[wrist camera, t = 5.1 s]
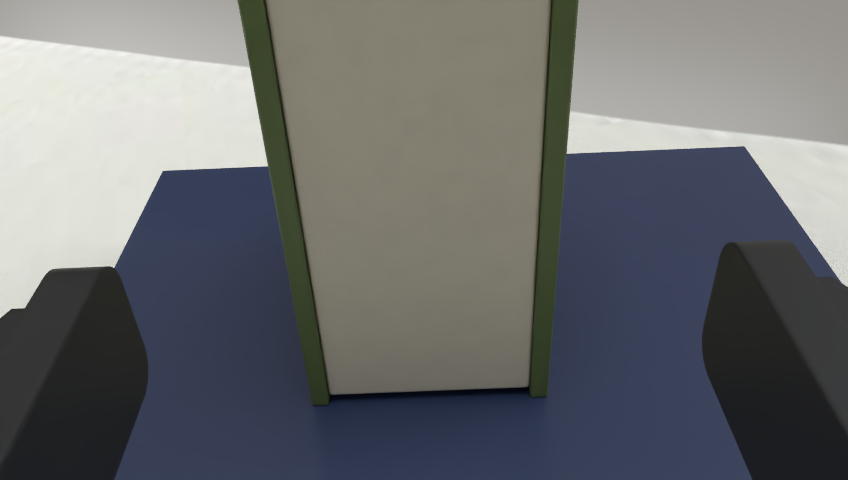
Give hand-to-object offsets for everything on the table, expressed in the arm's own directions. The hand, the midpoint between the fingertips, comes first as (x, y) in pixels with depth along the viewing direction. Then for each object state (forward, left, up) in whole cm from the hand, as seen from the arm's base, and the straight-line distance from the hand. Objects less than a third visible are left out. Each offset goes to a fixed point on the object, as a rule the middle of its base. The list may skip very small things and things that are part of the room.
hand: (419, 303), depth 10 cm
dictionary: (0, -8, -7) cm, 10 cm away
